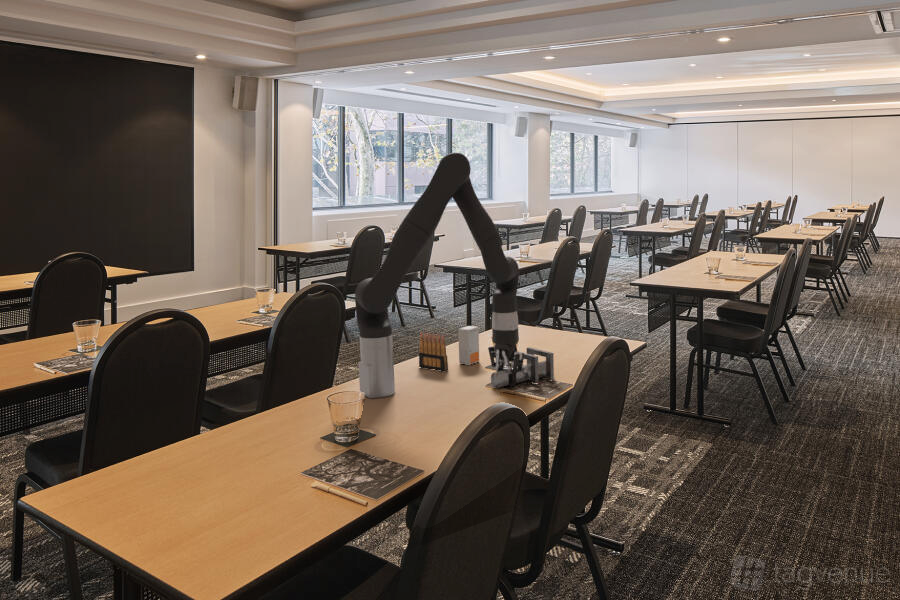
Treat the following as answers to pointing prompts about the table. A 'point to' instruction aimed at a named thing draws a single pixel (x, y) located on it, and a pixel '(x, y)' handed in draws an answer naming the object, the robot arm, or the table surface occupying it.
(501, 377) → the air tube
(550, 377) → the dark grey rectangular frame
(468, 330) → the skincare box
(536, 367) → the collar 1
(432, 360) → the ammunition clip
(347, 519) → the table surface
